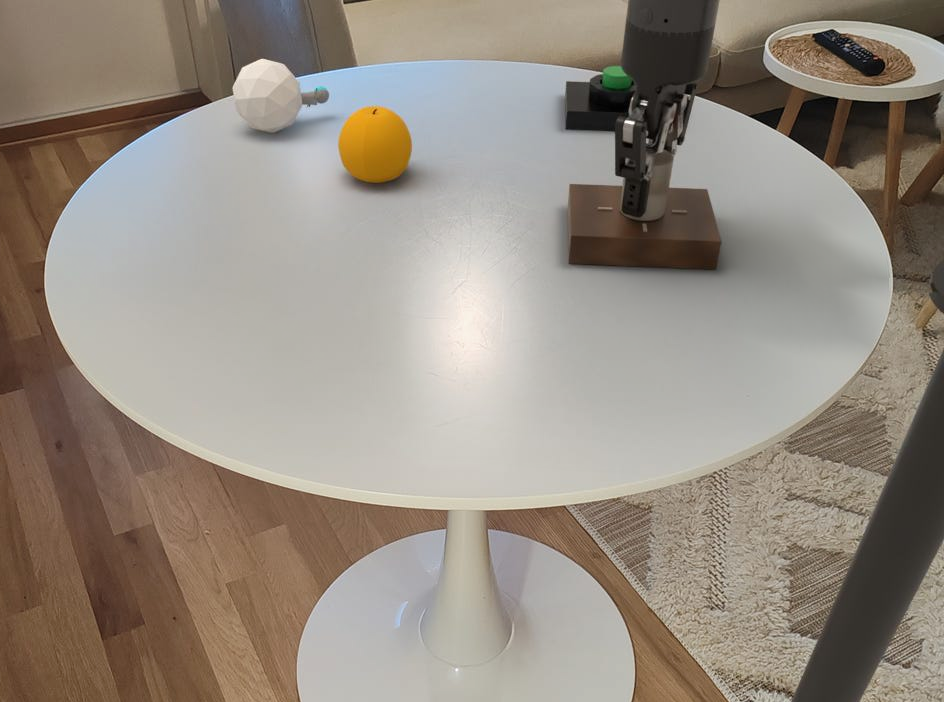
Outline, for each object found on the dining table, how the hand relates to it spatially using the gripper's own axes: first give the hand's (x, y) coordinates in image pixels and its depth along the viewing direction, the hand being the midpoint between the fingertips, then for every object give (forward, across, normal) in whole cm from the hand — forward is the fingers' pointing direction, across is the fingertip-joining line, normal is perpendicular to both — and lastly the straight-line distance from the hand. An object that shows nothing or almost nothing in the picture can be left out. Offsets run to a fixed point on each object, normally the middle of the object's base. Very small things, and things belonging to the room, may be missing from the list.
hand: (643, 203), depth 89 cm
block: (+4, +28, +16) cm, 32 cm away
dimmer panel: (+4, 0, 0) cm, 4 cm away
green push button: (0, +28, +16) cm, 32 cm away
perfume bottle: (+4, +3, +48) cm, 48 cm away
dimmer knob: (+1, 0, 0) cm, 1 cm away
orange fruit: (+4, -2, +30) cm, 31 cm away
